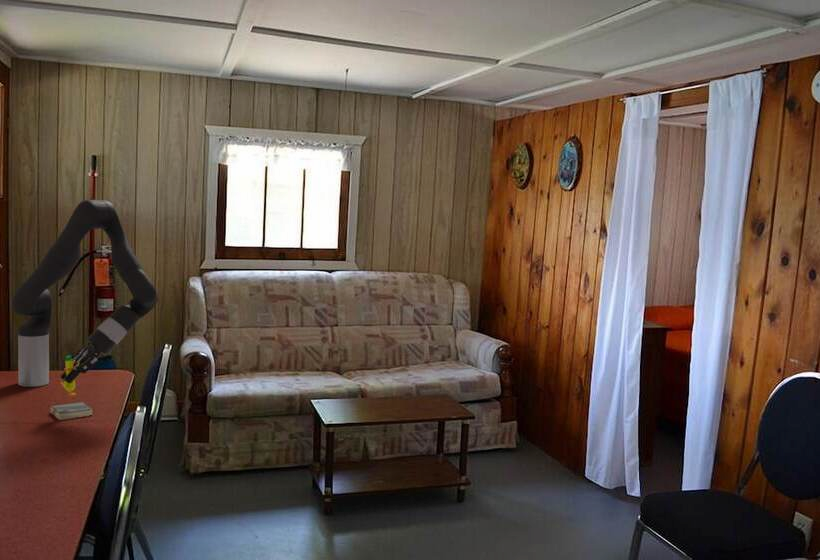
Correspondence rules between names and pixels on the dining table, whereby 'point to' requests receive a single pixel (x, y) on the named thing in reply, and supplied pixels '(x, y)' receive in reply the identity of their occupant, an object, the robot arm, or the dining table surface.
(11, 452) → the dining table surface
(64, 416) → the stand
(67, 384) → the toy figure
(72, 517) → the dining table surface
